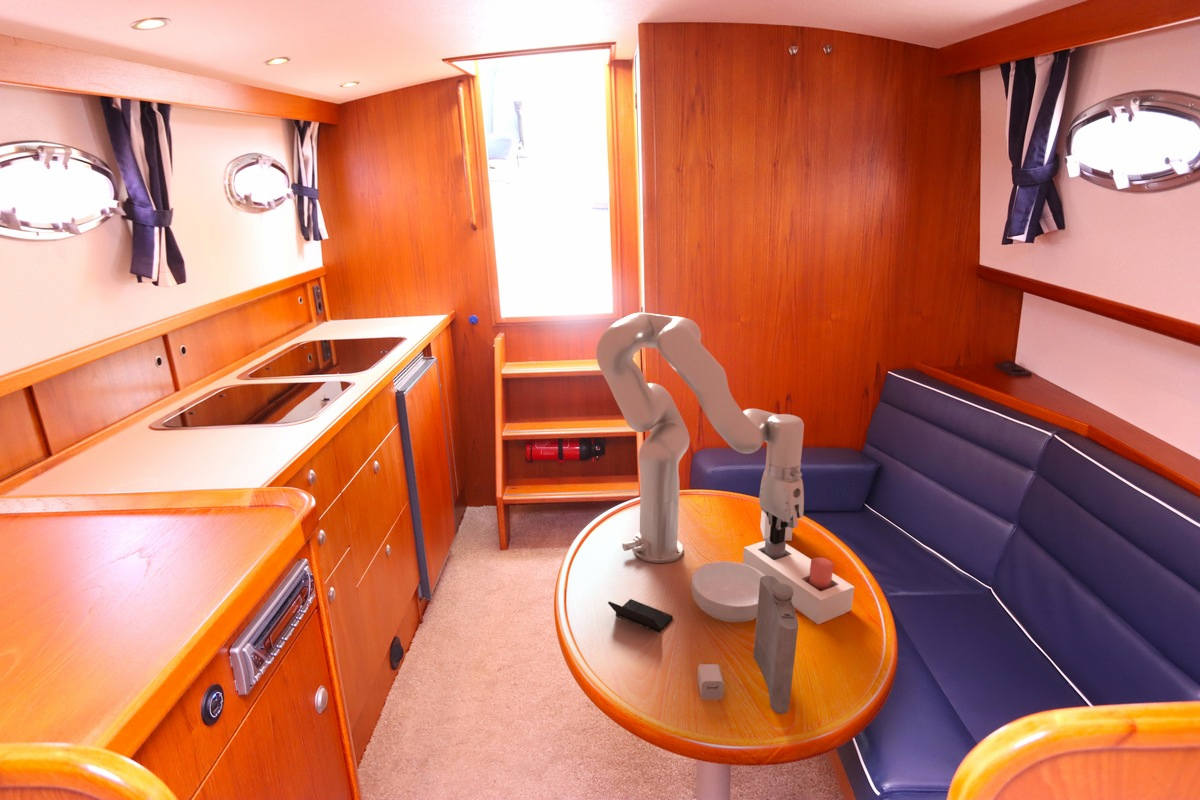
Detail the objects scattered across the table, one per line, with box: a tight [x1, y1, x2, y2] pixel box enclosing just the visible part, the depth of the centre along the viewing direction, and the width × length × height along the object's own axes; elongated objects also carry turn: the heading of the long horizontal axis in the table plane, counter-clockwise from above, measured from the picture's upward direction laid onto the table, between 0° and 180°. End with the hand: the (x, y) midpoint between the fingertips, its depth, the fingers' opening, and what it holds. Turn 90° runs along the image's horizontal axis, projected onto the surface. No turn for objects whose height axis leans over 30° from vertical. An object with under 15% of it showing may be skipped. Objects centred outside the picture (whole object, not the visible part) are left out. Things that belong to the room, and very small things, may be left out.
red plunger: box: [808, 557, 834, 591], centre depth 142 cm, size 5×5×6 cm
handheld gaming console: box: [607, 598, 674, 634], centre depth 139 cm, size 12×7×10 cm
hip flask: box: [752, 576, 799, 715], centre depth 119 cm, size 16×4×20 cm, turn 1°
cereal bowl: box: [690, 560, 765, 623], centre depth 142 cm, size 17×17×7 cm
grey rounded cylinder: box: [764, 537, 787, 560], centre depth 154 cm, size 5×5×6 cm
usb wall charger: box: [696, 662, 725, 700], centre depth 121 cm, size 4×7×4 cm, turn 0°
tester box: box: [742, 540, 855, 625], centre depth 150 cm, size 10×24×6 cm, turn 29°
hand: (777, 541), depth 153 cm, fingers closed
